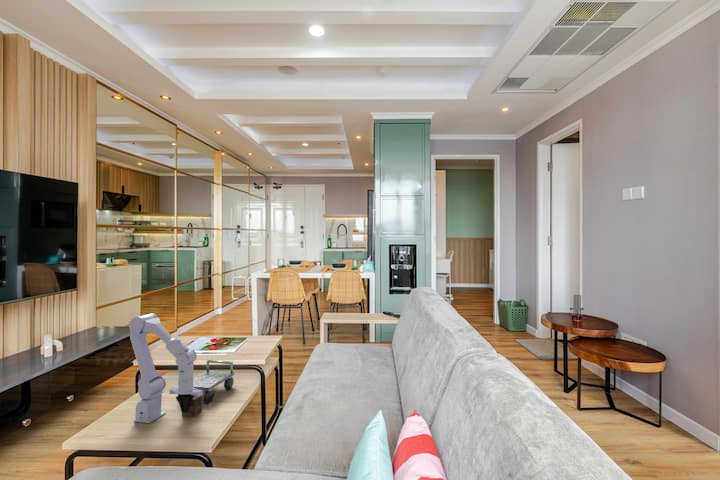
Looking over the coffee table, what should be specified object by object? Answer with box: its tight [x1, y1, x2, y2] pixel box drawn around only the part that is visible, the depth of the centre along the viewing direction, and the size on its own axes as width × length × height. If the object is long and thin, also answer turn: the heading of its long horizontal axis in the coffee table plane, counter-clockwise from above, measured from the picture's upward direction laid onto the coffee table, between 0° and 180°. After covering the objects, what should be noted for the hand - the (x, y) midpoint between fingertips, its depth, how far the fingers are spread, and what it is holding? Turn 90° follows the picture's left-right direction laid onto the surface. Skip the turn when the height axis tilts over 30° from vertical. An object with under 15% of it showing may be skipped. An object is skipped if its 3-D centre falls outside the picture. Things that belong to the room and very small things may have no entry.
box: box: [181, 394, 204, 417], centre depth 152 cm, size 6×6×7 cm
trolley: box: [193, 359, 235, 404], centre depth 173 cm, size 23×16×14 cm
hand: (185, 411), depth 147 cm, fingers closed, pressing on box
